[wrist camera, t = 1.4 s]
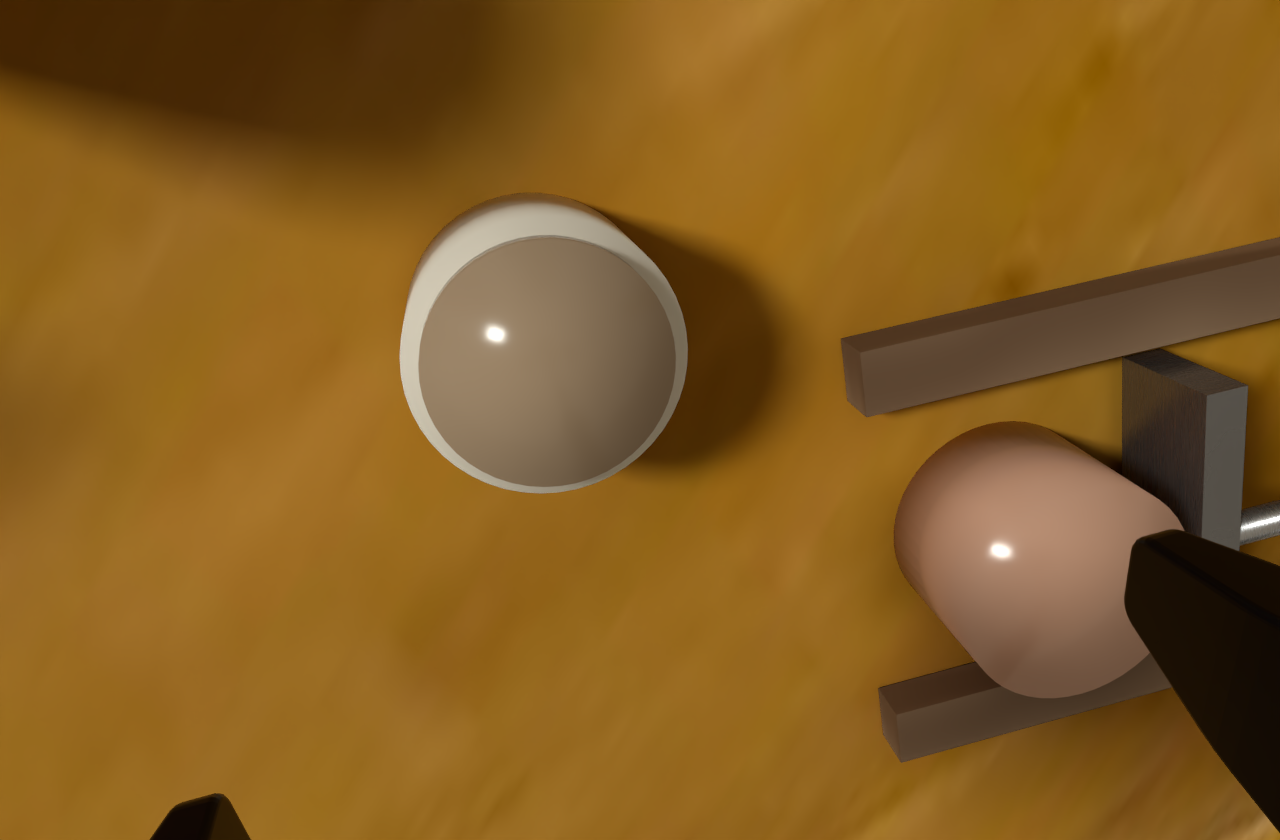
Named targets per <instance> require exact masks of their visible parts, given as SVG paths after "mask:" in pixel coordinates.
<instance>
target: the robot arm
mask: <svg viewBox="0 0 1280 840" xmlns="http://www.w3.org/2000/svg"><path fill="white" fill-rule="evenodd" d="M1124 605H1125V610H1126V614H1127V616H1128V618H1129V621H1130V622H1131V624H1132V626H1133V627H1134V629H1135V631H1136V632H1137V634H1138V635H1139V637H1140V638H1141V640H1142V641H1143V643H1144V644H1145V646H1146V647H1147V649H1148V651H1149V652H1150V654H1151V655H1152V657H1153V658H1154V660H1155V661H1156V663H1157V664H1158V666H1159V667H1160V669H1161V671H1162V672H1163V674H1164V675H1165V677H1166V678H1167V680H1168V681H1169V683H1170V684H1171V686H1172V687H1173V689H1174V691H1175V692H1176V694H1177V695H1178V697H1179V698H1180V700H1181V701H1182V703H1183V704H1184V706H1185V707H1186V709H1187V711H1188V712H1189V714H1190V715H1191V717H1192V718H1193V720H1194V721H1195V723H1196V724H1197V726H1198V727H1199V729H1200V730H1201V732H1202V733H1203V735H1204V736H1205V738H1206V739H1207V741H1208V742H1209V743H1210V745H1211V746H1212V748H1213V749H1214V751H1215V752H1216V753H1217V754H1218V756H1219V757H1220V758H1221V760H1222V761H1223V762H1224V764H1225V765H1226V766H1227V768H1228V769H1229V770H1230V771H1231V773H1232V774H1233V775H1234V776H1235V778H1236V779H1237V780H1238V781H1239V783H1240V784H1241V785H1242V786H1243V788H1244V789H1245V790H1246V791H1247V793H1248V794H1249V795H1250V796H1251V798H1252V799H1253V800H1254V801H1255V803H1256V804H1257V805H1258V806H1259V808H1260V809H1261V810H1262V811H1263V813H1264V814H1265V815H1266V816H1267V818H1268V819H1269V820H1270V821H1271V823H1272V824H1273V825H1274V826H1275V828H1276V829H1277V830H1278V831H1279V833H1280V566H1278V565H1276V564H1273V563H1270V562H1268V561H1265V560H1262V559H1259V558H1257V557H1254V556H1251V555H1248V554H1246V553H1243V552H1240V551H1237V550H1235V549H1232V548H1229V547H1226V546H1224V545H1221V544H1218V543H1215V542H1213V541H1210V540H1207V539H1204V538H1202V537H1199V536H1196V535H1194V534H1191V533H1188V532H1185V531H1182V530H1178V529H1169V530H1165V531H1161V532H1158V533H1154V534H1150V535H1147V536H1143V537H1140V538H1139V539H1137V540H1136V541H1135V543H1134V544H1133V546H1132V548H1131V553H1130V560H1129V567H1128V573H1127V580H1126V587H1125V593H1124ZM150 840H251V839H250V837H249V835H248V834H247V832H246V830H245V828H244V826H243V824H242V822H241V821H240V819H239V817H238V815H237V813H236V811H235V810H234V808H233V806H232V804H231V802H230V801H229V799H228V798H227V797H226V796H224V795H223V794H220V793H218V794H216V793H214V794H211V795H207V796H204V797H200V798H196V799H193V800H189V801H186V802H182V803H180V804H178V805H176V806H175V807H174V808H173V809H172V810H170V812H169V813H168V814H167V816H166V817H165V818H164V820H163V821H162V823H161V824H160V826H159V827H158V828H157V830H156V831H155V833H154V834H153V836H152V837H151V838H150Z"/></svg>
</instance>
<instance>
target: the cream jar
mask: <svg viewBox="0 0 1280 840" xmlns="http://www.w3.org/2000/svg"><path fill="white" fill-rule="evenodd" d="M687 360H688V343H687V333H686V327H685V323H684V319H683V314H682V311H681V308H680V306H679V303H678V301H677V298H676V295H675V293H674V292H673V290H672V288H671V286H670V285H669V283H668V281H667V279H666V278H665V276H664V275H663V274H662V272H661V271H660V270H659V268H658V267H657V266H656V264H655V263H654V262H653V261H652V260H651V259H650V258H649V257H648V256H647V255H646V254H645V253H644V252H643V251H642V250H641V249H640V248H639V247H638V246H637V245H635V244H634V243H633V242H632V241H631V240H630V239H629V238H628V237H627V236H626V235H625V234H624V233H623V232H622V231H621V230H620V229H619V228H618V227H617V226H616V225H615V224H614V223H613V222H611V221H610V220H609V219H607V218H606V217H605V216H603V215H602V214H601V213H599V212H597V211H596V210H594V209H592V208H590V207H589V206H587V205H585V204H582V203H580V202H577V201H575V200H572V199H569V198H566V197H562V196H558V195H553V194H545V193H517V194H510V195H504V196H500V197H497V198H493V199H490V200H487V201H485V202H482V203H480V204H478V205H475V206H473V207H471V208H470V209H468V210H466V211H465V212H463V213H461V214H460V215H458V216H457V217H456V218H454V219H453V220H452V221H451V222H450V223H448V224H447V225H446V226H445V227H444V228H443V229H442V230H441V231H440V232H439V233H438V234H437V235H436V236H435V237H434V238H433V240H432V241H431V243H430V244H429V245H428V247H427V248H426V250H425V251H424V253H423V255H422V257H421V258H420V260H419V262H418V264H417V266H416V269H415V272H414V274H413V277H412V280H411V283H410V288H409V293H408V298H407V304H406V310H405V316H404V322H403V329H402V335H401V344H400V370H401V379H402V383H403V388H404V393H405V396H406V399H407V401H408V404H409V407H410V410H411V412H412V414H413V416H414V418H415V420H416V422H417V423H418V425H419V427H420V429H421V430H422V431H423V433H424V434H425V436H426V437H427V438H428V440H429V441H430V442H431V444H432V445H433V446H434V447H435V448H436V449H437V450H438V451H439V452H440V453H441V454H442V455H443V456H444V457H445V458H446V459H448V460H449V461H450V462H451V463H453V464H454V465H455V466H456V467H458V468H459V469H461V470H463V471H464V472H466V473H468V474H469V475H471V476H473V477H475V478H477V479H479V480H481V481H483V482H486V483H488V484H491V485H494V486H497V487H500V488H504V489H508V490H513V491H519V492H527V493H555V492H563V491H569V490H574V489H578V488H582V487H585V486H588V485H591V484H594V483H597V482H599V481H601V480H603V479H605V478H608V477H610V476H612V475H613V474H615V473H617V472H618V471H620V470H622V469H623V468H625V467H626V466H628V465H629V464H630V463H632V462H633V461H634V460H636V459H637V458H638V457H639V456H640V455H641V454H642V453H643V452H644V451H646V450H647V449H648V448H649V447H650V446H651V445H652V444H653V442H654V441H655V440H656V438H657V437H658V436H659V435H660V433H661V432H662V431H663V429H664V428H665V426H666V424H667V423H668V421H669V420H670V418H671V416H672V414H673V412H674V410H675V408H676V405H677V403H678V401H679V399H680V395H681V392H682V389H683V385H684V382H685V376H686V370H687Z"/></svg>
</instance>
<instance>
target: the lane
mask: <svg viewBox="0 0 1280 840" xmlns="http://www.w3.org/2000/svg"><path fill="white" fill-rule="evenodd" d="M1279 318H1280V237H1279V238H1275V239H1271V240H1266V241H1262V242H1258V243H1253V244H1249V245H1245V246H1240V247H1236V248H1232V249H1227V250H1223V251H1219V252H1214V253H1210V254H1206V255H1201V256H1197V257H1193V258H1188V259H1184V260H1180V261H1175V262H1171V263H1167V264H1162V265H1158V266H1154V267H1149V268H1145V269H1141V270H1136V271H1132V272H1128V273H1123V274H1119V275H1115V276H1110V277H1106V278H1102V279H1097V280H1093V281H1089V282H1084V283H1080V284H1076V285H1071V286H1067V287H1063V288H1058V289H1054V290H1050V291H1045V292H1041V293H1036V294H1032V295H1028V296H1023V297H1019V298H1015V299H1010V300H1006V301H1002V302H997V303H993V304H989V305H984V306H980V307H976V308H971V309H967V310H963V311H958V312H954V313H950V314H945V315H941V316H937V317H932V318H928V319H924V320H919V321H915V322H911V323H906V324H902V325H898V326H893V327H889V328H885V329H880V330H876V331H872V332H867V333H863V334H859V335H854V336H850V337H846V338H841V344H842V353H843V363H844V372H845V381H846V391H847V400H848V401H849V402H850V403H851V404H852V405H853V406H854V407H855V408H857V409H858V410H859V411H860V412H861V413H862V414H863V415H865V416H866V417H870V416H874V415H878V414H882V413H887V412H891V411H895V410H899V409H903V408H907V407H912V406H916V405H920V404H924V403H928V402H932V401H937V400H941V399H945V398H949V397H953V396H957V395H962V394H966V393H970V392H974V391H978V390H982V389H987V388H991V387H995V386H999V385H1003V384H1008V383H1012V382H1016V381H1020V380H1024V379H1028V378H1033V377H1037V376H1041V375H1045V374H1049V373H1053V372H1058V371H1062V370H1066V369H1070V368H1074V367H1078V366H1083V365H1087V364H1091V363H1095V362H1099V361H1103V360H1108V359H1112V358H1116V357H1120V356H1124V355H1128V354H1133V353H1137V352H1141V351H1145V350H1149V349H1153V348H1158V347H1162V346H1166V345H1170V344H1174V343H1179V342H1183V341H1187V340H1191V339H1195V338H1199V337H1204V336H1208V335H1212V334H1216V333H1220V332H1224V331H1229V330H1233V329H1237V328H1241V327H1245V326H1249V325H1254V324H1258V323H1262V322H1266V321H1270V320H1274V319H1279ZM1171 687H1172V686H1171V684H1170V683H1169V681H1168V680H1167V678H1166V677H1165V675H1164V674H1163V672H1162V671H1161V669H1160V667H1159V666H1158V664H1157V663H1156V661H1155V660H1154V658H1153V657H1152V655H1151V654H1150V653H1149V654H1148V655H1147V656H1146V657H1145V658H1144V659H1143V660H1142V661H1140V662H1139V663H1138V664H1137V665H1136V666H1135V667H1133V668H1132V669H1130V670H1129V671H1128V672H1126V673H1125V674H1123V675H1122V676H1120V677H1118V678H1117V679H1115V680H1113V681H1111V682H1110V683H1108V684H1105V685H1103V686H1101V687H1099V688H1097V689H1094V690H1091V691H1088V692H1085V693H1082V694H1078V695H1074V696H1069V697H1061V698H1036V697H1029V696H1025V695H1021V694H1018V693H1015V692H1012V691H1010V690H1008V689H1006V688H1004V687H1002V686H1001V685H999V684H998V683H996V682H995V681H994V680H993V679H992V678H990V677H989V676H988V675H987V674H986V673H985V672H984V671H983V669H982V668H981V667H980V666H979V665H978V663H977V662H974V663H970V664H966V665H963V666H959V667H955V668H952V669H948V670H944V671H940V672H937V673H933V674H929V675H926V676H922V677H918V678H914V679H911V680H907V681H903V682H900V683H896V684H892V685H888V686H885V687H881V688H878V689H879V699H880V708H881V717H882V727H883V735H884V736H885V738H886V740H887V741H888V743H889V744H890V746H891V747H892V749H893V751H894V752H895V754H896V755H897V757H898V758H899V760H900V762H905V761H909V760H912V759H916V758H919V757H923V756H927V755H930V754H934V753H937V752H941V751H945V750H948V749H952V748H955V747H959V746H963V745H966V744H970V743H973V742H977V741H981V740H984V739H988V738H991V737H995V736H999V735H1002V734H1006V733H1009V732H1013V731H1017V730H1020V729H1024V728H1027V727H1031V726H1035V725H1038V724H1042V723H1045V722H1049V721H1053V720H1056V719H1060V718H1063V717H1067V716H1071V715H1074V714H1078V713H1081V712H1085V711H1089V710H1092V709H1096V708H1099V707H1103V706H1107V705H1110V704H1114V703H1117V702H1121V701H1125V700H1128V699H1132V698H1135V697H1139V696H1143V695H1146V694H1150V693H1153V692H1157V691H1161V690H1164V689H1168V688H1171Z"/></svg>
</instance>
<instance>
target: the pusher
mask: <svg viewBox="0 0 1280 840" xmlns="http://www.w3.org/2000/svg"><path fill="white" fill-rule="evenodd" d="M1247 396H1248V385H1246V384H1243V383H1241V382H1239V381H1236V380H1234V379H1231V378H1229V377H1227V376H1224V375H1222V374H1220V373H1217V372H1215V371H1212V370H1210V369H1208V368H1205V367H1203V366H1200V365H1198V364H1196V363H1193V362H1191V361H1188V360H1186V359H1184V358H1181V357H1179V356H1177V355H1174V354H1172V353H1169V352H1167V351H1165V350H1162V349H1160V348H1158V349H1154V350H1150V351H1146V352H1142V353H1138V354H1133V355H1129V356H1125V357H1122V476H1123V477H1125V478H1126V479H1128V480H1129V481H1131V482H1132V483H1134V484H1136V485H1137V486H1139V487H1140V488H1142V489H1143V490H1145V491H1146V492H1148V493H1150V494H1151V495H1153V496H1154V497H1156V498H1157V499H1159V500H1160V501H1162V502H1163V503H1164V504H1165V505H1166V506H1167V507H1169V508H1170V509H1171V511H1172V512H1173V513H1174V514H1175V515H1176V517H1177V518H1178V520H1179V521H1180V523H1181V525H1182V527H1183V528H1184V531H1185V532H1188V533H1191V534H1194V535H1196V536H1199V537H1202V538H1204V539H1207V540H1210V541H1213V542H1215V543H1218V544H1221V545H1224V546H1226V547H1229V548H1232V549H1235V550H1237V551H1239V546H1240V545H1244V544H1248V543H1252V542H1255V541H1259V540H1263V539H1267V538H1271V537H1274V536H1278V535H1280V500H1277V501H1273V502H1269V503H1265V504H1261V505H1257V506H1253V507H1250V508H1246V509H1242V490H1243V471H1244V452H1245V434H1246V415H1247ZM1241 509H1242V510H1241Z"/></svg>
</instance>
